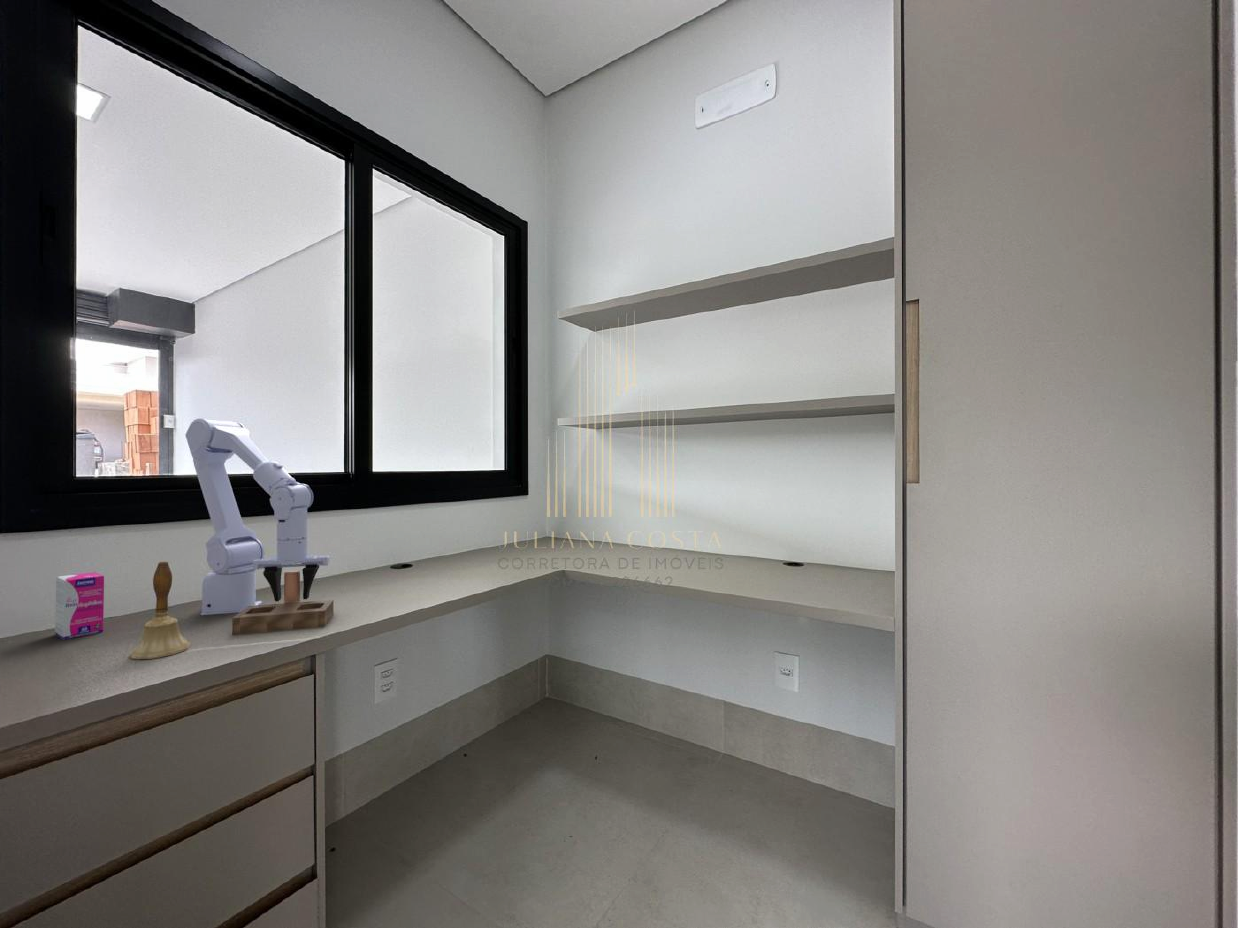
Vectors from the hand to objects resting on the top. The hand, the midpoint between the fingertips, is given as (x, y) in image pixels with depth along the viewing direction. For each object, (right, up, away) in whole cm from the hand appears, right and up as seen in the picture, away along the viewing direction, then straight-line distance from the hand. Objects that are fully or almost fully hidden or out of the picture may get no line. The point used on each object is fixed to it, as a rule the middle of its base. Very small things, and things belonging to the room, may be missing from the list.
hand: (292, 599), depth 116 cm
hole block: (+4, -3, -8) cm, 10 cm away
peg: (0, -3, 0) cm, 3 cm away
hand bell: (-9, -3, -23) cm, 25 cm away
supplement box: (-33, -3, -14) cm, 36 cm away
